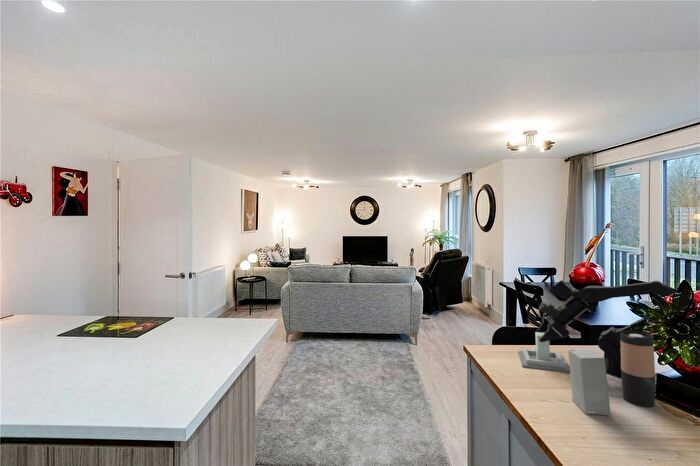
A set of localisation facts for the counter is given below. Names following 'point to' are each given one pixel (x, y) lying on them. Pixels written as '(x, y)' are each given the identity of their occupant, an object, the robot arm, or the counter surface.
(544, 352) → the rectangular block
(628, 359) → the travel mug
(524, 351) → the charging dock
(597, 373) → the skincare box
